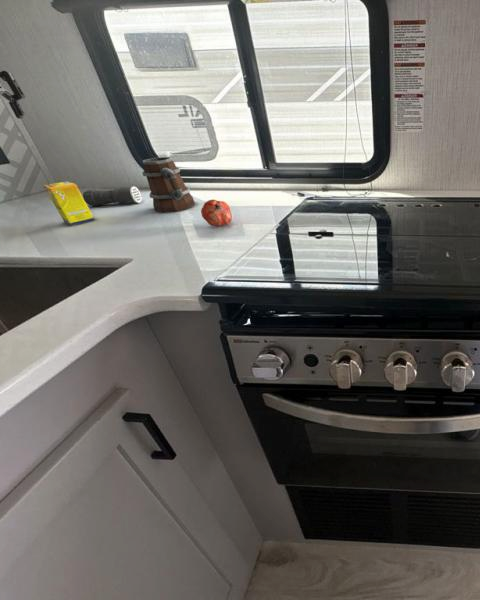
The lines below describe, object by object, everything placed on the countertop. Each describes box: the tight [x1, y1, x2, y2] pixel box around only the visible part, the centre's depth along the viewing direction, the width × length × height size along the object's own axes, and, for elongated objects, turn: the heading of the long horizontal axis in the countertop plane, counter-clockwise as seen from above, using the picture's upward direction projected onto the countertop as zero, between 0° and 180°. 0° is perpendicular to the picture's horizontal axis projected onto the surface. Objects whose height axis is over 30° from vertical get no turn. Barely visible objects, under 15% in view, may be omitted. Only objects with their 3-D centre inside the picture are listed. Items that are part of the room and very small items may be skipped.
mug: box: [141, 156, 196, 213], centre depth 105 cm, size 16×12×15 cm
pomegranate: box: [200, 199, 233, 227], centre depth 92 cm, size 7×7×10 cm
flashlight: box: [82, 186, 143, 207], centre depth 113 cm, size 15×5×5 cm, turn 102°
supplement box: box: [43, 180, 96, 227], centre depth 97 cm, size 6×6×11 cm
